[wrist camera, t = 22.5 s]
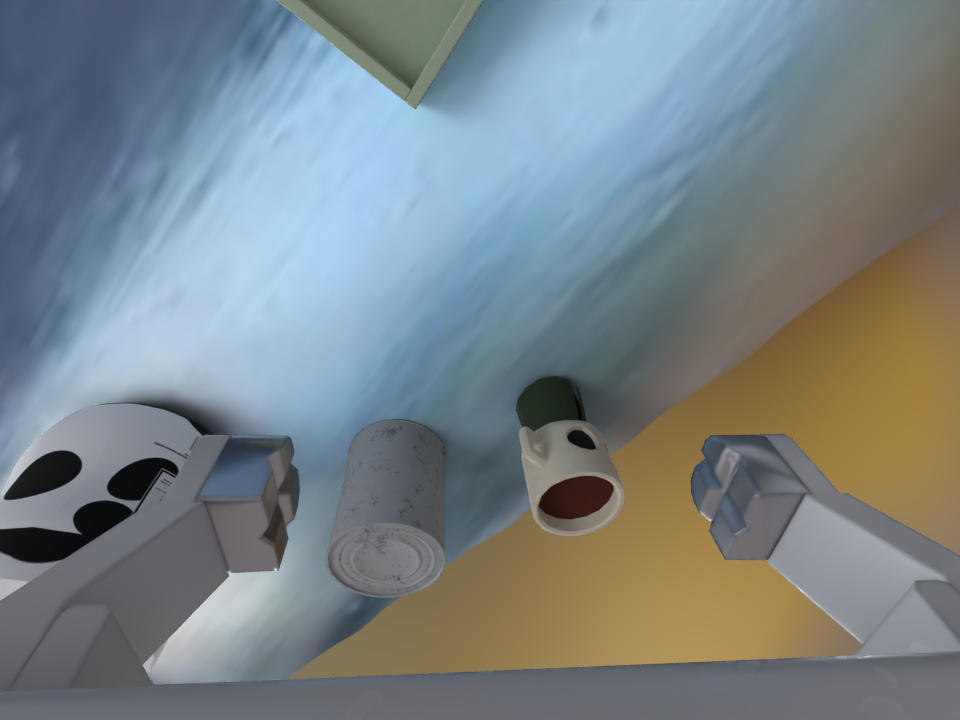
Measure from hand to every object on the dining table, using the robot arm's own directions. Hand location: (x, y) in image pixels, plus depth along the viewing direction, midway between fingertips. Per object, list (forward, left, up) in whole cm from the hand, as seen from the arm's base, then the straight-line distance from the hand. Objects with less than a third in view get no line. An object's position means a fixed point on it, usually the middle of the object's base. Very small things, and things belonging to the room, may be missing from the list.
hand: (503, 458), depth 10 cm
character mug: (+13, +20, -31) cm, 39 cm away
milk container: (+40, -7, -31) cm, 51 cm away
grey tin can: (+27, +12, -31) cm, 43 cm away
